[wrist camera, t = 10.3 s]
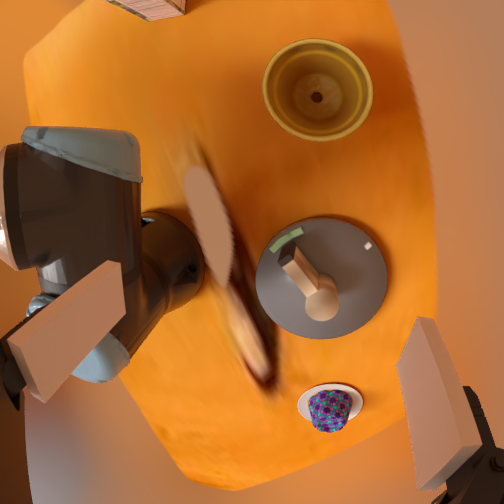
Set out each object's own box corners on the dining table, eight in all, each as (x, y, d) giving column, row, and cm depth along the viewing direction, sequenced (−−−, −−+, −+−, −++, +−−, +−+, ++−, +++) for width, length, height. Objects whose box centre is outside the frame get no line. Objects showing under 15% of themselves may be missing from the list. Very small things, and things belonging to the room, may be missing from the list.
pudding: (290, 387, 52) (286, 409, 47) (357, 374, 49) (358, 396, 44) (307, 425, 56) (304, 446, 51) (366, 415, 52) (367, 436, 47)
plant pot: (305, 154, 37) (302, 162, 28) (258, 86, 35) (239, 74, 26) (376, 113, 34) (394, 108, 25) (328, 44, 31) (330, 19, 22)
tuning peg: (342, 290, 41) (344, 310, 36) (318, 305, 42) (317, 326, 38) (299, 234, 39) (297, 249, 35) (274, 252, 41) (269, 268, 36)
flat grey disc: (318, 351, 48) (318, 360, 46) (232, 278, 46) (228, 285, 44) (410, 280, 40) (413, 287, 39) (321, 188, 38) (322, 191, 37)
